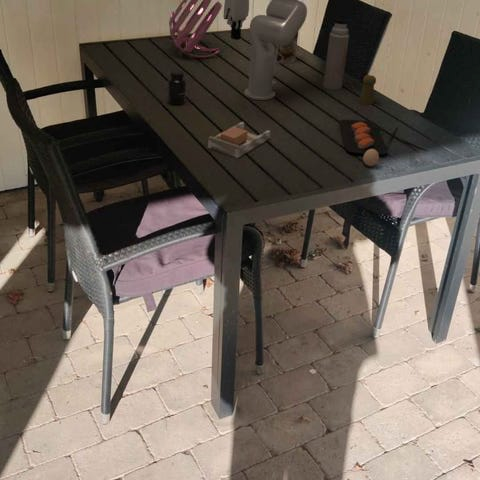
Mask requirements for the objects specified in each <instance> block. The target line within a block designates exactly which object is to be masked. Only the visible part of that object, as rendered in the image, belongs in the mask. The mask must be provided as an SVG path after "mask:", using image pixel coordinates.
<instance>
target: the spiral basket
mask: <svg viewBox="0 0 480 480" xmlns="http://www.w3.org/2000/svg"><path fill="white" fill-rule="evenodd" d="M198 1H199V0H189V2H188V0H181V2H180V4H179V5H178V7H177V8H176V9H175V11H172V13H171V14H170V16H169V21H168V23H169V25H168V26H169V36H170V37H171V39H172V41H173V43H174V46H175V47H176V48H177V49H179V50H180V51H181V52H182V53H183V54H184V55H186V56H189V57H192V58H196V59H206V58H211V57H213V56H216V55H217V54H219V53H220V52H221V47H217V48H207V47H203V46H201V45H199V42H200V41H201V40H202V38H203V37H204V36H205V34H206V33H207V31H208V30H209V28H210V27H211V25H212V24H213V22H215V20H216V18H217V16H218V14H219V13H220V11H221V9H222V7H223V5H222V2H220V1H216V2H215V3H214V5H212V6H211V8H210V9H209V10H208V12H207V13H206V15H205V16H204V17H203V15H204V13H205V12H206V10H207V9H208V7H209V6H210V4H211V3H212V0H202V1H201V3H200V4H199V5H198V6H197V8H196V9H195V11H194V12H193V13H192V14H191V17H190V18H188V16H190V13H191V12H192V10H193V9H194V7H195V6H196V4H197V3H198ZM187 2H188V4H187ZM186 4H187V5H186ZM185 5H186V7H185ZM183 7H185V8H184V9H183ZM182 9H183V10H182ZM181 11H182V13H180V12H181ZM179 13H180V15H179ZM178 15H179V17H178ZM177 17H178V18H177ZM202 17H203V19H202V20H201V18H202ZM176 18H177V20H176ZM187 18H188V20H187V21H186V19H187ZM200 20H201V22H200ZM185 21H186V23H185V25H184V27H182V25H183V24H184V22H185ZM198 22H200V23H199V24H198ZM197 24H198V26H197V27H196V29H195V30H194V32H193V33H192V35H191V36H190V38H188V37H189V35H190V34H191V32H192V31H193V29H194V28H195V26H196V25H197ZM181 27H182V29H181V30H180V28H181ZM175 34H177V38H176V37H175ZM183 43H185V46H184V47H182V44H183ZM194 49H195V50H198V51H202V52H214V53H211V54H208V55H196V54H193V53H191V52H192V51H193V50H194Z"/></svg>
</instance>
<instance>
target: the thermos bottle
mask: <svg viewBox="0 0 480 480" xmlns="http://www.w3.org/2000/svg"><path fill="white" fill-rule="evenodd" d="M347 27H348V20H346V19H339V18H336V19H335V20H334V26H332V29H331V32H329V35H328V36H329V37H328V43H327V45H328V46H327V52H326V53H327V54H326V62H325V70H324V75H323V84H322V86H323V88H325V89H327V90H331V91H335V90H336V91H338V90H341V89H342V87H343V81H344V73H345V67H346V62H347V60H346V59H347V54H348V53H347V52H348V47H349V39H350V35H349V28H347Z"/></svg>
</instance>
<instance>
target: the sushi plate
mask: <svg viewBox="0 0 480 480" xmlns="http://www.w3.org/2000/svg"><path fill="white" fill-rule="evenodd" d="M339 129H340V132H341V135H342V139H343V140H342V141H343V144H344V148H345V150H346V151H347V152H348V153H351V154H357V155H364V154H365V152H366V151H367V150H369V149H374V150H376V151H377V152H378V155H379V156H383V155H384V156H385V155H386V154H387V153H388V150H387V146H388V144H389V143H390V141H391V140H392V138H395V139H397V140H400V141H401V142H403V143H406V144H407V145H409V146H412V147H414V148H417V149H420V150H423V151H424V152H428V150H427V149H424V147H423V148H422V147H420V146H418V145H416V144H414V143H411V142H409V141H407V140H404V138H403V139H402V138H400V137H398V136H395V134H396V133H397V131H398V129H399V127H396V128H395V129H394V131H393V133H392V134H391V133H389V132H388V131H385V130H384V129H381V128H379V125H378V124H377V122H374V121H370V120H360V119H359V120H358V119H357V120H356V119H341V120H340V121H339ZM381 132H382V133H384V134H387V135H390V137H389V139H388V141H387V142H386V144H385V141H384V138H383V134H382V133H381Z"/></svg>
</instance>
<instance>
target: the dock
mask: <svg viewBox="0 0 480 480" xmlns="http://www.w3.org/2000/svg"><path fill="white" fill-rule="evenodd" d="M232 127H237V128H240V129H243V130H245V122H244V121H241V122H239V123H237V124H236V125H234V126H232ZM232 127H230V128H228V129H226V130H225V131H227V130H229V129H231V128H232ZM225 131H222V132H221V133H223V132H225ZM221 133H219V134H217V135H214V136H211V135H210V136H209V137H208V145H207V148H208V149H210V150H213V151H216V152H219V153H222V154H225V155H227V156H231V157H234V158H237V159H238V158H240V157H242V156H244V155H245V154H247V153H248V152H251V150H253V149H255V148H257V147H258V146H260V145H261V144H264V143H265V142H267V141H269V140H270V138H271V130H266V131H264V132H263V133H260V134H259V135H257V134H254V133H251V132H248V133H247V140H246V142H245V143H240V144H239V145H235V144H232V143H229V142H226V141H223V140H220V139H221Z"/></svg>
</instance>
